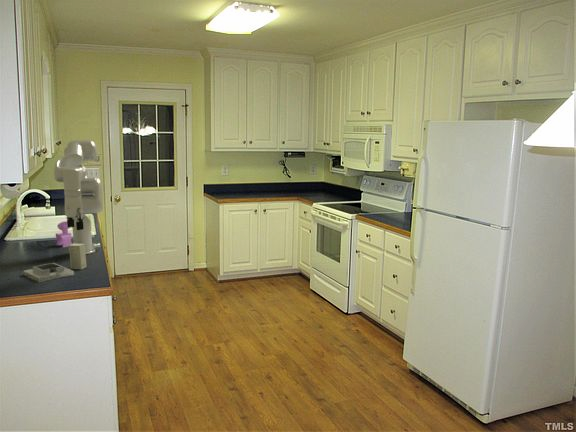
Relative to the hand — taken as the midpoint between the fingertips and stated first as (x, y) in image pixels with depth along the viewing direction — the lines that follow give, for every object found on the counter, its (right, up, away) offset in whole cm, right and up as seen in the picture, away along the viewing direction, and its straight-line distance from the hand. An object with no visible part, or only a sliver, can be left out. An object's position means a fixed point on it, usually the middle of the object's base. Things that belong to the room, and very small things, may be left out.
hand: (75, 228), depth 246 cm
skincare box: (0, -20, +4) cm, 20 cm away
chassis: (-9, -22, -8) cm, 25 cm away
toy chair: (-29, -12, +54) cm, 62 cm away
